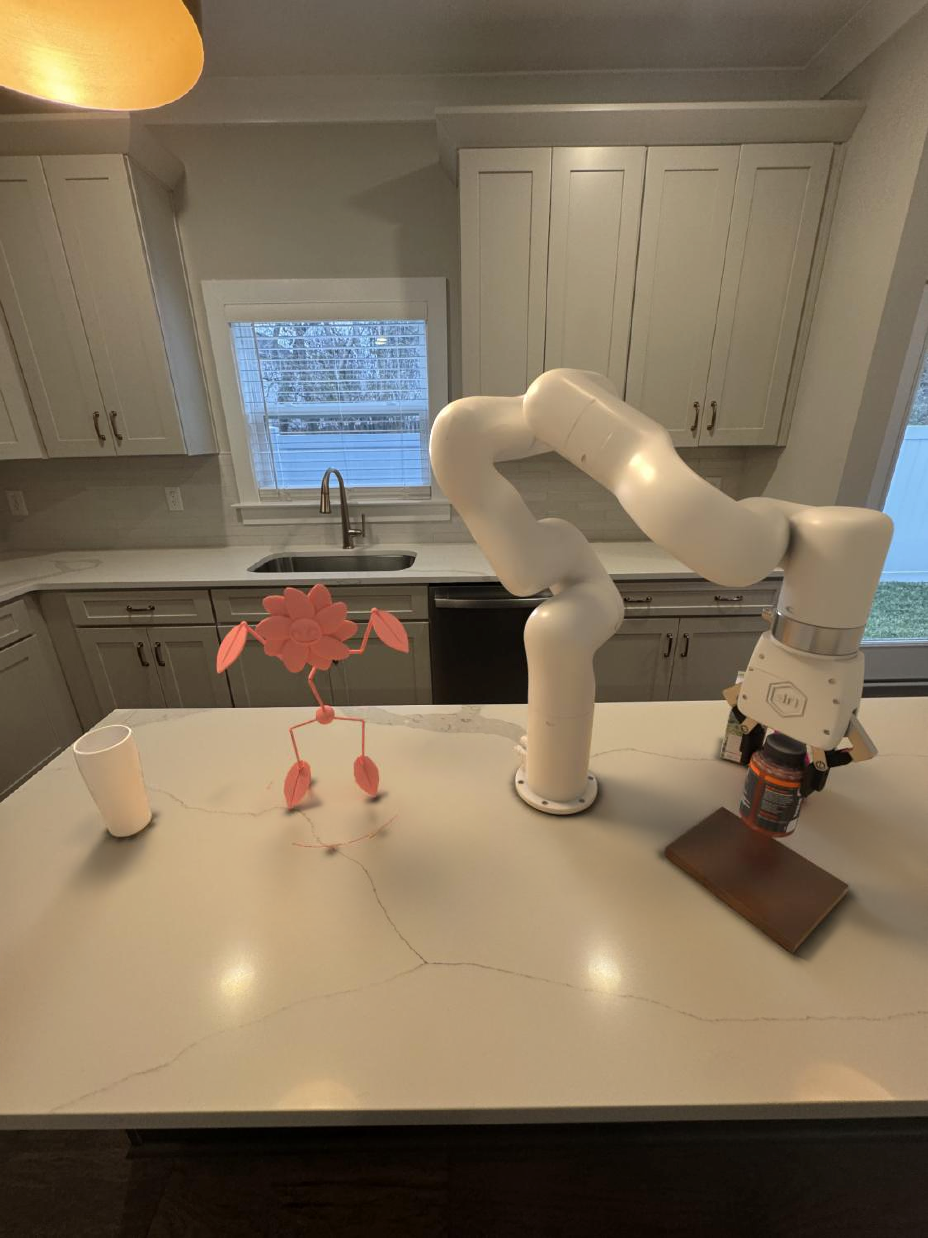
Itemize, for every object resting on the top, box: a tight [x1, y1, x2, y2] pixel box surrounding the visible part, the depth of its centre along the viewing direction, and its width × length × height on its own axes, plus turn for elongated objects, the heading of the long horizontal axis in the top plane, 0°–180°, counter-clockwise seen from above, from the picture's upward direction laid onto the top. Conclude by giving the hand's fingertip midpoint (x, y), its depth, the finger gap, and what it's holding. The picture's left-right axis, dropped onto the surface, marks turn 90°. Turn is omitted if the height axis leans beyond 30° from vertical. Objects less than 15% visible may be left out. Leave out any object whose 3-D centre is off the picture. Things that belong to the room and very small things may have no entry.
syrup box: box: [719, 670, 769, 767], centre depth 83 cm, size 6×6×14 cm
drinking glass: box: [72, 724, 153, 838], centre depth 71 cm, size 7×7×15 cm
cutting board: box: [664, 806, 850, 954], centre depth 64 cm, size 16×13×2 cm
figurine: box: [216, 583, 409, 851], centre depth 69 cm, size 15×26×35 cm, turn 97°
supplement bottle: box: [738, 732, 809, 839], centre depth 59 cm, size 6×6×11 cm
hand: (778, 774), depth 58 cm, fingers closed on supplement bottle, 5 cm apart
